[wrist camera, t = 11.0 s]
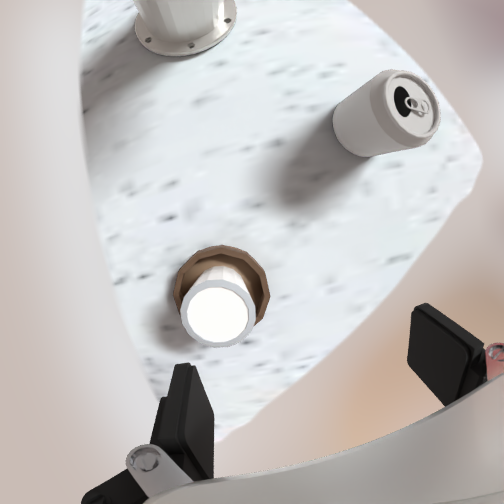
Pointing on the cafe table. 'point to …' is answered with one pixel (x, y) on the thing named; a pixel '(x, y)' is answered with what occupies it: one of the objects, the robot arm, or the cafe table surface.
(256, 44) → the cafe table surface
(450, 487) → the robot arm
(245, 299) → the white tapered cylinder
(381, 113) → the can
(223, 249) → the round bowl
